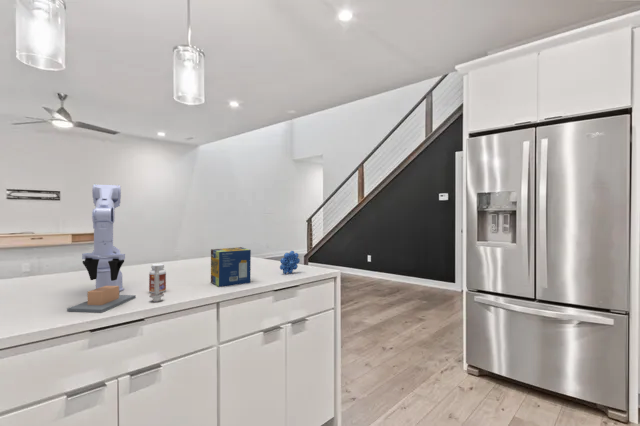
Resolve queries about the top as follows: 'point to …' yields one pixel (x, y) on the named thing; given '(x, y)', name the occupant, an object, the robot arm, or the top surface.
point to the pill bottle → (161, 279)
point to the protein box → (230, 266)
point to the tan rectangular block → (103, 295)
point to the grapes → (289, 262)
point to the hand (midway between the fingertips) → (103, 279)
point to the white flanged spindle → (156, 287)
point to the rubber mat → (100, 308)
